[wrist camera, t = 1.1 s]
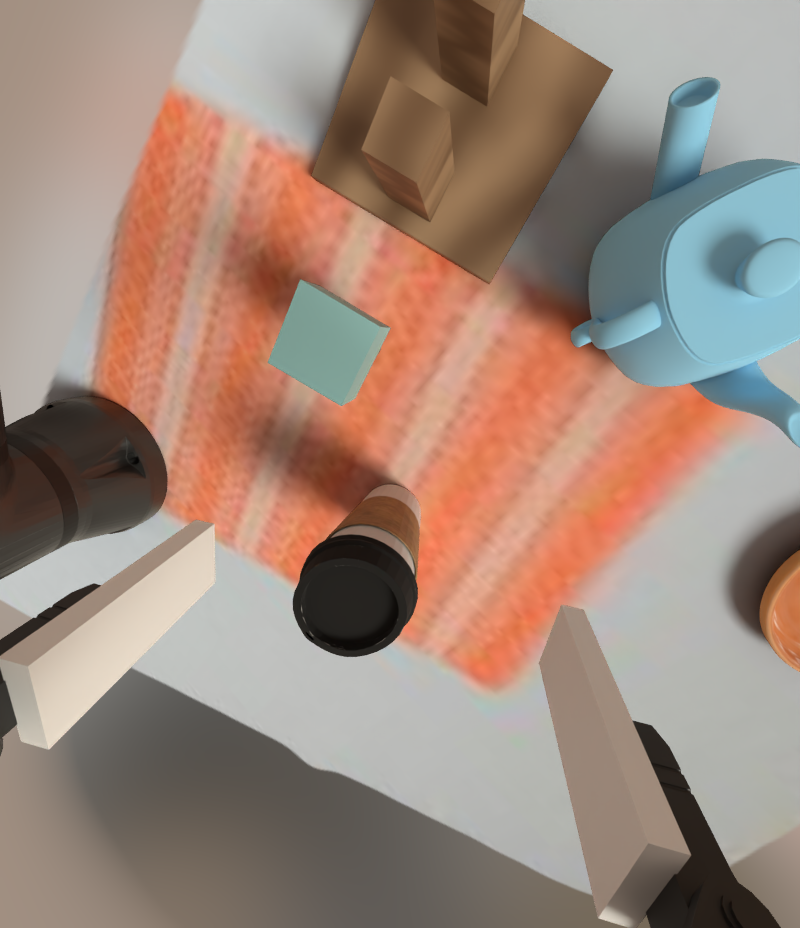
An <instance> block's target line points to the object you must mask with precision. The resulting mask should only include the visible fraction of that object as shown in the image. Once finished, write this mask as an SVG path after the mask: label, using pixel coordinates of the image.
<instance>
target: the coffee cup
mask: <svg viewBox="0 0 800 928" xmlns="http://www.w3.org/2000/svg"><path fill="white" fill-rule="evenodd" d="M420 520H421V509H420V505H419V503H418V500H417V499H416V497H415V496H414V495H413V494H412V493H411V492H410V491H408V490H407V489H405V488H403V487H401V486H398V485H392V484H387V485H382V486H379V487H377V488H375V489H373V490H372V491H371V492H370V493H369V494H368V495H367V496H366V497H365V498H364V500H363V501H362V502H361V503H360V504H359V505H358V506H357V507H356V508H355V509H354V510H353V511H352V512H351V513H350V514H349V515H348V516H347V517H346V518H345V519H344V520H343V521H342V523H341V524H340V525H339V526H338V527H337V528H336V529H335V530H334V531H333V532H332V533H331V534H330V535H329V536H328V537H327V539H326V540H325V541H323V542H322V543H320V544H318V545H317V546H316V547H315V548H314V549H313V550H312V551H311V553H310V554H309V556H308V557H307V559H306V562H305V563H304V566H303V568H302V571H301V574H300V581H299V583H298V586H297V588H296V590H295V592H294V597H293V611H294V615H295V618H296V621H297V623H298V625H299V627H300V629H301V631H302V632H303V634H304V636H305V637H306V638H307V639H308V640H309V641H311V642H312V643H314V644H315V645H317V646H319V647H320V648H322V649H324V650H326V651H328V652H330V653H333V654H336V655H340V656H345V657H358V656H364V655H368V654H371V653H374V652H377V651H379V650H381V649H383V648H385V647H386V646H388V645H389V644H390V643H392V642H393V641H394V640H395V639H396V638H397V637H398V636H399V635H400V633H401V631H402V629H403V628H404V626H405V625H406V624H407V623H408V622H409V620H410V618H411V616H412V615H413V613H414V609H415V607H416V603H417V599H418V587H417V583H416V579H417V568H418V551H419V529H420Z"/></svg>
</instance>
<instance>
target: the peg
mask: <svg viewBox="0 0 800 928" xmlns="http://www.w3.org/2000/svg"><path fill="white" fill-rule="evenodd" d="M389 330H390V327H388V326H387V325H385V324H383V323H381V322H380V321H378V320H376V319H375V318H373V317H371V316H370V315H368V314H366V313H365V312H363V311H361V310H360V309H358V308H356V307H355V306H353V305H351V304H350V303H348V302H346V301H345V300H343V299H341V298H340V297H338V296H336V295H334V294H333V293H331V292H329V291H328V290H326V289H324V288H323V287H321V286H319V285H316V284H313V283H310V282H307V281H304V280H301V279H300V282H299V284H298V287H297V289H296V292H295V294H294V297H293V299H292V302H291V305H290V307H289V310H288V312H287V315H286V317H285V320H284V322H283V325H282V327H281V330H280V333H279V335H278V338H277V340H276V343H275V345H274V348H273V350H272V353H271V356H270V358H269V361H268V363H269V364H271V365H273V366H274V367H276V368H278V369H279V370H281V371H283V372H284V373H286V374H288V375H289V376H291V377H293V378H295V379H296V380H298V381H300V382H301V383H303V384H305V385H306V386H308V387H310V388H311V389H313V390H315V391H317V392H318V393H320V394H322V395H323V396H325V397H327V398H328V399H330V400H332V401H334V402H335V403H337V404H339V405H340V406H343V405H344V404H346V403H348V402H350V401H352V400H353V399H355V398H356V396H357V394H358V392H359V390H360V388H361V386H362V384H363V382H364V380H365V378H366V376H367V374H368V372H369V370H370V368H371V366H372V364H373V362H374V360H375V358H376V356H377V355H378V354H379V352H380V349H381V346H382V344H383V342H384V340H385V338H386V336H387V334H388V332H389Z"/></svg>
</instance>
